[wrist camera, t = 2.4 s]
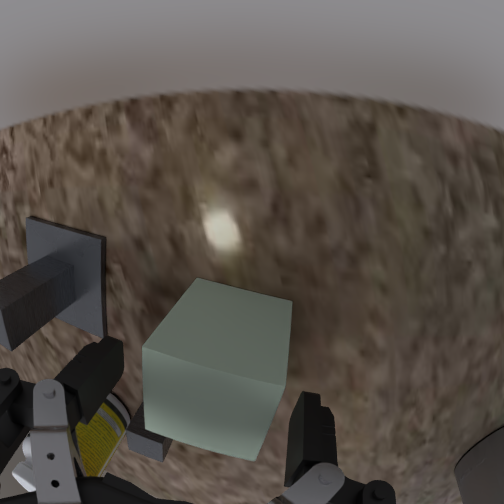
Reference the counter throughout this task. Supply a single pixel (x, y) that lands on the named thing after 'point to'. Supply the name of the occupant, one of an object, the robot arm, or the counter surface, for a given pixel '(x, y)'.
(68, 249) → the post on square base
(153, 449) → the short post
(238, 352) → the pale green block
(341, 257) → the counter surface
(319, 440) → the robot arm
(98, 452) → the pill bottle
